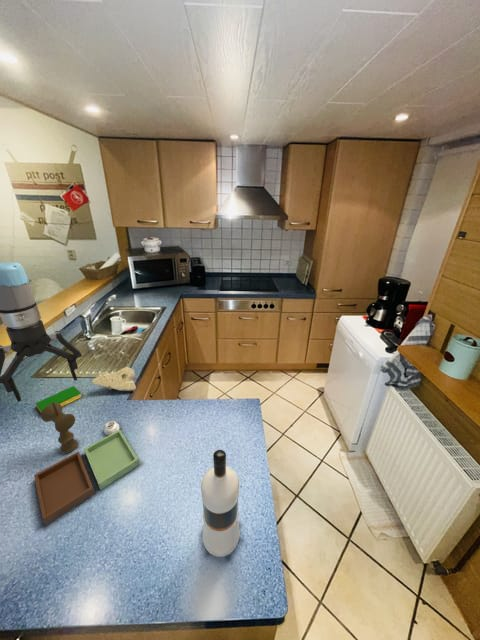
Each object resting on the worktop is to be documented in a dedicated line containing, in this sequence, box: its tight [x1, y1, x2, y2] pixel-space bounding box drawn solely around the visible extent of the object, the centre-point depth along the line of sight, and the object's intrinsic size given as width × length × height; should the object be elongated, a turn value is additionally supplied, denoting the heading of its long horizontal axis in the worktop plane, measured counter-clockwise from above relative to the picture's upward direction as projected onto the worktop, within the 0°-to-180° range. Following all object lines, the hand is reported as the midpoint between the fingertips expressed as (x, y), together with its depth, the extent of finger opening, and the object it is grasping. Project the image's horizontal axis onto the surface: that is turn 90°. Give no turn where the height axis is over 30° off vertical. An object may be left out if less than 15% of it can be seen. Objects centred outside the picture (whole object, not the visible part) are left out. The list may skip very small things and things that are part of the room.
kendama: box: [40, 402, 79, 454], centre depth 80 cm, size 6×10×20 cm, turn 59°
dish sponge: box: [35, 385, 82, 413], centre depth 103 cm, size 7×14×2 cm, turn 141°
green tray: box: [83, 429, 141, 491], centre depth 81 cm, size 16×12×3 cm
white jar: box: [103, 420, 120, 436], centre depth 91 cm, size 5×3×5 cm
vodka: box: [200, 449, 241, 558], centre depth 57 cm, size 9×9×30 cm
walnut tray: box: [33, 451, 96, 526], centre depth 72 cm, size 16×12×3 cm
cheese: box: [91, 366, 137, 392], centre depth 111 cm, size 15×7×15 cm
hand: (48, 388), depth 74 cm, fingers open, 13 cm apart
